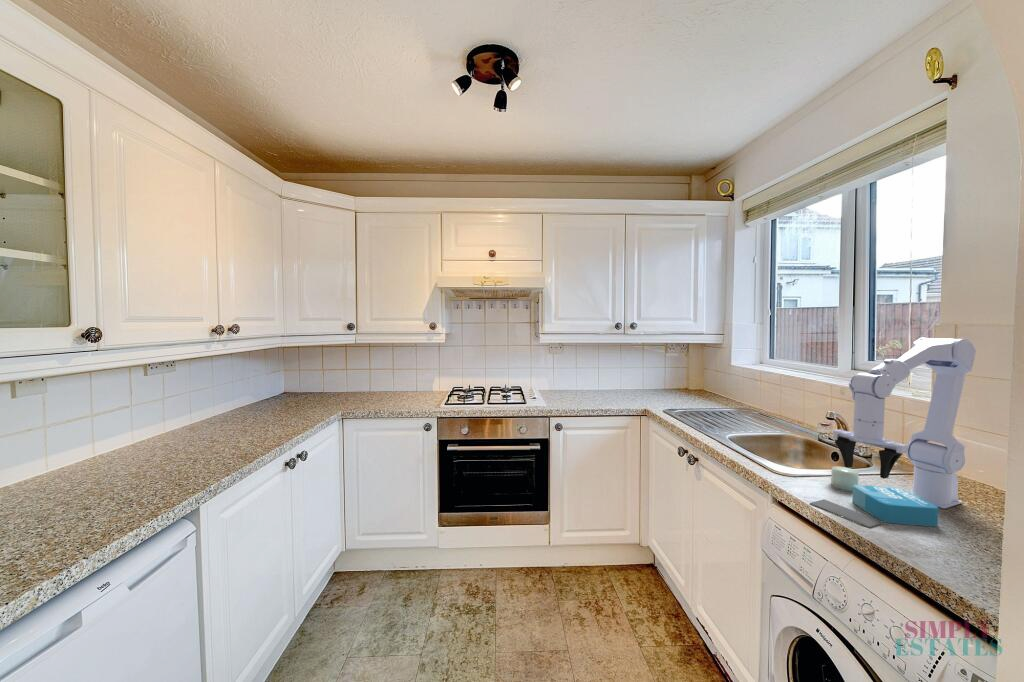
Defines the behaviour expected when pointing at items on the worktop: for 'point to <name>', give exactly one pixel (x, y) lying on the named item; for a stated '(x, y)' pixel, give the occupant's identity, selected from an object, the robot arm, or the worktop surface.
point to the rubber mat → (847, 513)
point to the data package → (895, 505)
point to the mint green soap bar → (844, 478)
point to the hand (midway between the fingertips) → (865, 472)
